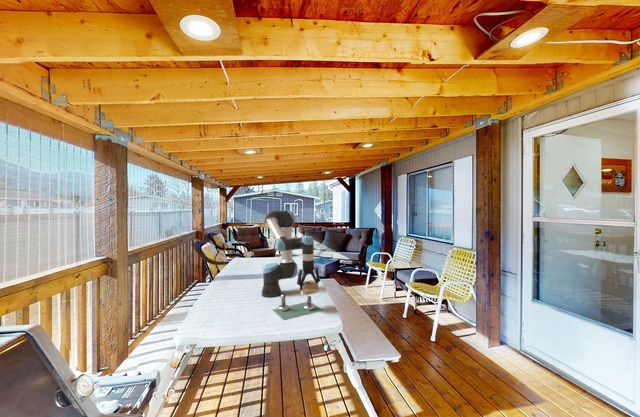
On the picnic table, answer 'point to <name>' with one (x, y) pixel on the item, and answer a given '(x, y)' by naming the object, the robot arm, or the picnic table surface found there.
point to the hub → (309, 305)
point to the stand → (283, 304)
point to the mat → (296, 311)
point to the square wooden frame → (310, 287)
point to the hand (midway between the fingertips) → (309, 293)
